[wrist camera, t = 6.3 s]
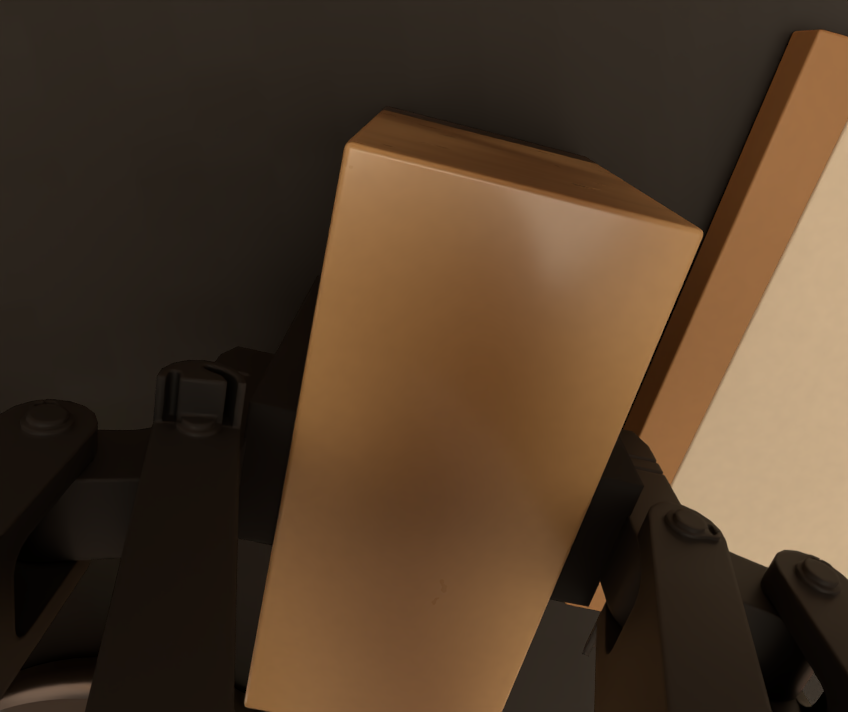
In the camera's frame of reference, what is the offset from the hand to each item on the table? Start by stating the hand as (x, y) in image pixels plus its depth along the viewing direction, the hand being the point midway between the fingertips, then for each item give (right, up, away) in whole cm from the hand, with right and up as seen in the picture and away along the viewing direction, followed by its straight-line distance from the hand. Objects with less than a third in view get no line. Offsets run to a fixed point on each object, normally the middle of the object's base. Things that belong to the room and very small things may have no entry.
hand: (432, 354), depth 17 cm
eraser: (0, 0, +1) cm, 1 cm away
